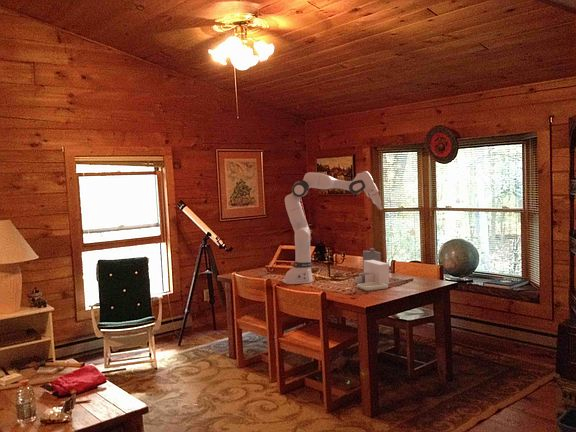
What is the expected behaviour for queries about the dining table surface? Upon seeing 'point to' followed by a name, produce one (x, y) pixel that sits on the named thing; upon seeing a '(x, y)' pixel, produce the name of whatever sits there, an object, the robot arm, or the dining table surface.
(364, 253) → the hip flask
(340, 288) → the dining table surface
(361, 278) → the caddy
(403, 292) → the dining table surface
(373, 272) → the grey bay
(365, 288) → the sage tray
